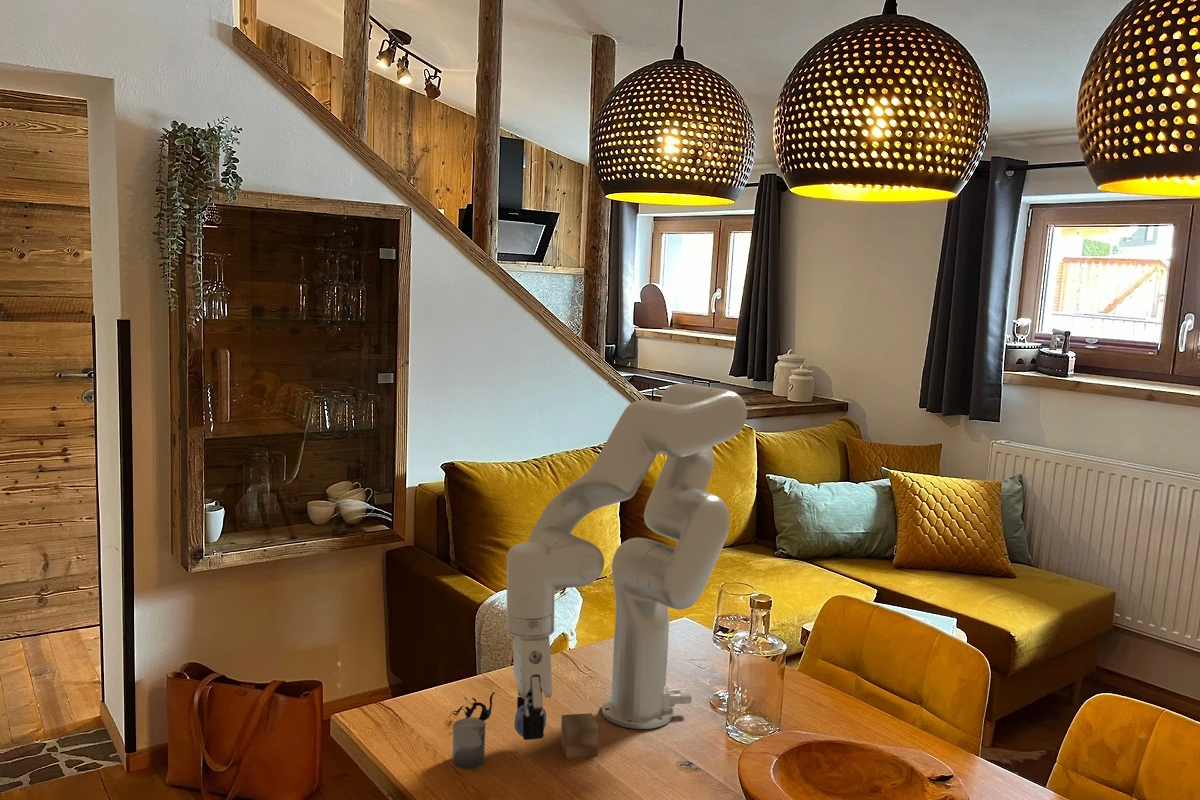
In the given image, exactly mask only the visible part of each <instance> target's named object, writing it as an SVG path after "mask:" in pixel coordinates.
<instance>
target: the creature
mask: <svg viewBox="0 0 1200 800" xmlns="http://www.w3.org/2000/svg"><path fill="white" fill-rule="evenodd" d="M495 693H496V692H495V691H493V692H492V693H491V695H490V697H489V707H488V708H487V705H485V704H484V703H482V702H478V701H477V699H476V698H474V697H472V698H471V699H472V700H473V701H474V702H472V703H471V702H470V701H468V702H469V704H470V705H471V707H469V706H468V703H467V697H465V696H463V698H464V700H465V702H466V705H467V706H464V705H462V706H460V707H459V708H458V709H457V710H453V711H452V712H451V714H450V715H449V716H448V719H449V718H450V717H451V715H454V716H456V717H457V716H458V715H459V713H460V712H461V710H463V712H464V715H465V718H469V717H470V718H471V717H472V715H473V713H474V712H475V710H477V707H478V706H480V707H481V712H480V715H479V717H478V716H476V718H477V719H480V720H482V721H484V722H485V721H487V720H488V719H489V718H490V716H492V707H493V696H494V695H495ZM464 709H465V710H464Z"/></svg>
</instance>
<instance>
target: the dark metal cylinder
mask: <svg viewBox="0 0 1200 800" xmlns="http://www.w3.org/2000/svg"><path fill="white" fill-rule="evenodd" d="M485 746H486V723H485V720H484V721H482V720H480V719H478V718H477V717H470V718H469V717H468V718H466V717H465V718H460V719H458V720H456V721H455V722H454V723H453V727H452V757H451V758H452V765H453V766H454V767H456V768H458V769H461V770H474V768H475V769H478V768H479V767H481V766H483V765H484V764H485V753H486V752H485V751H486V747H485ZM483 763H484V764H483ZM477 767H478V768H477Z"/></svg>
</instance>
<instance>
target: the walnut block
mask: <svg viewBox="0 0 1200 800" xmlns="http://www.w3.org/2000/svg"><path fill="white" fill-rule="evenodd" d="M560 728H561V729H560V730H561V731H560V732H561V733H560V745H561V747H563V748H562V750H563V752H564V755H565V758H566V759H567V760H568V759H579V758H590V757H591V758H593V757H598V746H599V745H598V743H599V742H598V741H599V726H598V723H597V721H596V719H595V717H594V714H593V713H589V712H588V713H573V714H572V713H571V714H561V727H560Z"/></svg>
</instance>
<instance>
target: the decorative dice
mask: <svg viewBox="0 0 1200 800" xmlns="http://www.w3.org/2000/svg"><path fill="white" fill-rule="evenodd" d="M530 705H532V703H529V707H530ZM516 710H517V709H516ZM543 714H544V729H546V728H545V727H546V724H547V712H546V710H545V709H544V708H543ZM523 715H525V704H524V705H522V706H520V707H519V708H518V710H517V711H516V714H515V717H514V730H515V731H516V733H517V734H518V735H519V736H520V737H521V738H523Z"/></svg>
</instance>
